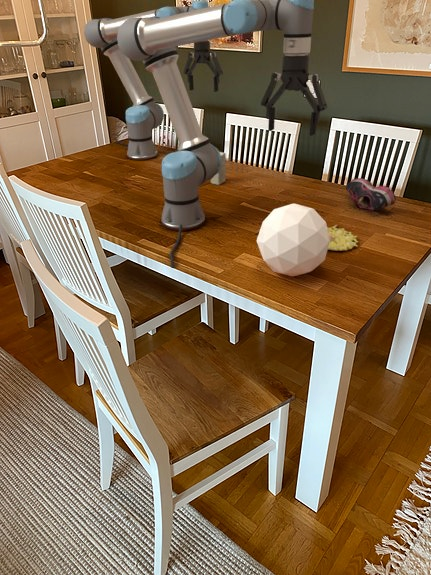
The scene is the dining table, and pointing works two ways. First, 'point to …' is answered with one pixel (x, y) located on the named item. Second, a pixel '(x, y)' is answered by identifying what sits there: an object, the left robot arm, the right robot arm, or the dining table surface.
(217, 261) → the dining table surface
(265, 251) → the sphere
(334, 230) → the decorative object
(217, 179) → the cosmetic box
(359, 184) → the athletic shoe
